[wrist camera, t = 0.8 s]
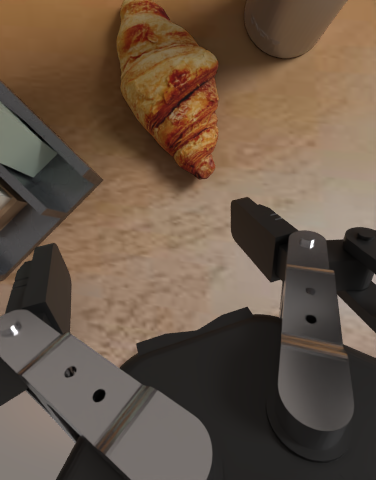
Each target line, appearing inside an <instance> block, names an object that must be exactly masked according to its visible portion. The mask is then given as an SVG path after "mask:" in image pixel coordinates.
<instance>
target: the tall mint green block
mask: <svg viewBox="0 0 376 480" xmlns="http://www.w3.org/2000/svg"><path fill="white" fill-rule="evenodd" d="M57 154H58V153H57V152H56V151H55V150H54V149H53V148H52V147H51V146H50V145H49V144H48V143H47V142H46V141H45V140H44V139H43V138H42V137H41V136H39V135H38V134H37V133H36V132H35V131H34V130H33V129H32V128H31V127H30V126H29V125H28V124H27V123H26V122H25V121H24V120H23V119H22V118H20V117H19V116H18V115H17V114H15V113H14V112H13V111H12V110H10V109H9V108H8V107H7V106H5V105H4V104H3V103H2V102H0V163H2V164H4V165H6V166H8V167H11V168H13V169H15V170H17V171H20V172H22V173H24V174H26V175H29V176H31V177H34V176H35V175H36V174H37V173H39V172H40V171H41V170H42V169H43V168H44V167H45V166H46V165H47V164H48V163H49V162H50V161H51V160H52V159H53V158H54V157H55V156H56V155H57Z"/></svg>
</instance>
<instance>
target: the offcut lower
mask: <svg viewBox="0 0 376 480" xmlns="http://www.w3.org/2000/svg"><path fill="white" fill-rule="evenodd" d="M0 187H1V188H2V189H3V190H4V191H5V192H6V193H7V194H8V195H9V196H10V197H11V198H12V199H11V200H10V201H9V202H8V203H7V204H6V205H5V206H4V207H3V208H2V209H1V210H0V231H1V230H2V229H3V228H4V227H5V226H6V225H7V224H8V223H9V222H10V221H11V220H12V219H13V218H14V217H15V216H16V215H17V214H18V213H19V212H20V211H21V210H22V209H23V208H24V207H25V206H26V205H27V204H28V203H27V202H26V201H25V200H24V199H23V198H22V197H21V196H20V195H19V194H18V193H17V192H16V191H15V190H14V189H13V188H12V187H11V186H10V185H9V184H8V183H6V182H5V181H4V180H3V179H2V178H1V177H0Z"/></svg>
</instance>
